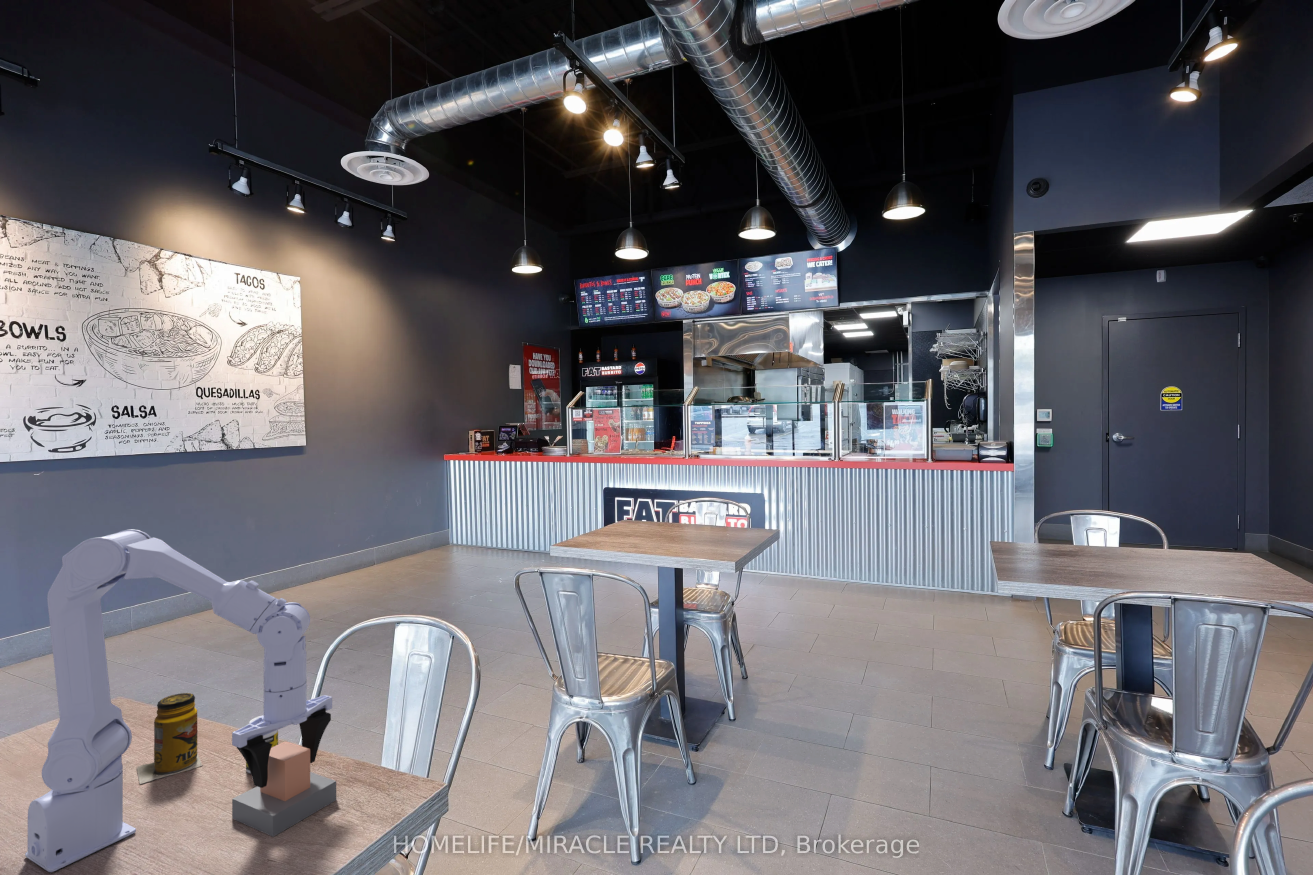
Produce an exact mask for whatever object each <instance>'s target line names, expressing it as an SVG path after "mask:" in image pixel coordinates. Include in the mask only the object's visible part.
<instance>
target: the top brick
mask: <svg viewBox="0 0 1313 875" xmlns="http://www.w3.org/2000/svg"><path fill="white" fill-rule="evenodd" d="M310 772H311V763H310V749H309V748H306V747H302V745H298V744H296V743H292V742H290V741H286V740H284V741H283V742H281V743H278V745H276V746H274V747H272V748H271V750H270V754H269V759H268V780H267V786H265V787H263V788H260V792H262V793H265V794H267V795H270V796H273V797H275V798H278V799H280V800H283V801H287V800H288V799H290V798H292V797H294V796H296V795H297V794H299V793H301V792H303V791H305V790H307V789H308V788H310Z"/></svg>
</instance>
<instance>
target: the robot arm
mask: <svg viewBox="0 0 1313 875" xmlns="http://www.w3.org/2000/svg"><path fill="white" fill-rule="evenodd" d="M61 559H62V560H61V561H62V566H61V568H60V570H59V572H58V573H57V575H56V577H55V578H54V580H53V582H52V584H51V586H50V587H49V589H48V592H47V596H46V597H47V599H46V600H47V609H48V610H47V611H48V619H49V628H50V629H49V630H50V637H51V646H52V655H53V656H52V658H53V666H54V668H53V669H54V674H55V675H54V676H55V677H54V678H55V687H56V695H57V705H58V713H59V720H58V722H57V724H56V727H55V728H54V730H53V732H52V734H51V736H50V738H49V740H48V742H47V750H48V751H47V752H48V753H47V756H46V760H45V761H44V762H43V765H42V768H41V778H42V781H43V783H44V784H45V786H46V787H47V788H48V789H50V790H49V791H48V792H47V793H45V794H43V795H41V796H40V797H37V798H35V799H33V800H32V801H31V802H30V803H29V806H28V809H27V852H25V858H27V859H29V860H30V861H32V862H33V863H34V864H36V865H38V866H39V867H40V868H42V869H43V870H45V871H47V873H54V872H56V871H58V870H60V869H61V868H64V867H66V866H69V865H71V864H72V863H75V862H77V861H79V860H81V859H83V858H85V857H87V856H90V855H91V854H94V853H95V852H99V851H100V850H102V849H104V848H106V847H108V846H110V845H113V844H114V843H116V842H118V841H120V840H122V839H125V838H127V837H129V836H131V835H133V834H136V832H137V828H136V827H134V826H132V825H130V824H128V823H127V822H124V820H123V817H124V816H123V815H124V810H123V809H124V808H123V807H124V804H123V802H124V801H123V800H124V796H123V795H124V794H123V792H124V791H123V790H124V789H123V788H124V787H123V785H124V781H123V780H124V776H123V775H124V771H123V769H124V768H123V766H124V765H123V754H125V753H126V752H127V751H128V749H129V748H130V746H131V743H132V739H133V734H132V730H131V728H130V726H129V725H128V724H127V723H126V722H125V719H124V718H123V714H122V713H123V712H122V709H121V708H120V707H119V706H118V705H115V704H114V703H112V700H111V689H110V681H109V672H108V661H107V650H106V642H105V630H104V622H103V621H104V620H103V613H102V612H103V611H102V603H101V602H102V601H101V600H102V597H103V596H104V595H105V594H106V593H107V592H109V591H110V590H111V589H112V588H113V587H115V585H116V584H117V583H119V582H120V580H122V579H124V580H132V579H133V580H134V579H135V580H136V579H148V578H158V579H161V580H163V581H165V582H167V583H169V584H171V585H174V586H176V587H178V588H181V589H183V590H185V591H186V592H189V593H191V594H194V595H196V596H197V597H200V598H202V599H205V600H206V601H209V602H210V603H211V607H212V611H213V614H215V615H216V616H218V617H220V618H222V619H224V620H226V621H228V622H230V623H231V624H234V625H235V626H237V627H239V628H241V629H243V630H245V631H247V632H249V633H251V634H253V635H256V637H257V638H256V639H257V640H258V643H259V644H260V646H261V647H262V648H263V649H264V650H263V653H264V654H263V714H262V715H263V716H262V715H260V716H261V717H260V718H258V719H256V720H254V721H253V722H251V723H249V722H248V724H247V725H244V726H243V727H241V728H239V729H237V730H233V731H232V733H231V745H232V746H233V747H236V749H237V750H238V752H239V753H240V754H241V756H242V757H243V758H244V760H245V763H246V762H247V764H248V767H249V769H250V772H251V773H250V774H251V777H252V782H253V786H255V787H257V786H258V787H260V788H263V787H265V786H267V780H268V759H269V754H270V750H271V747H272V744H271V743H268V742H265V739H263V736H264V735H267V734H269V733H271V732H274V731H276V730H278V731H279V730H280V729H283V728H286V727H288V726H291V725H293V726H295V725H299V728H300V735H301V746H302V747H306V748H309V749H310V764H313V763H315V762H316V758H317V754H318V750H319V746H320V743H321V740H322V739H323V735H324V733H325V731H326V728H327V727H328V725H329V724H330V722H331V720H332V714H331V713H330V712H328V711H330V710H331V709H333V696H330V695H326V694H323V695H320V696H318V697H314V698H311V699H308V700H307V697H308V696H307V692H308V690H307V657H308V656H307V650H306V646H307V643H306V635H304V634H305V633H306V632H307V631H308V629H309V626H310V624H311V616H310V613H309V611H308V609H306V607H304V606H302V604H300V603H299V602H295V601H293V602H288V601H287V599H285V598H283V597H280V598H277V597H275V596H273V595H271V594H269V593H267V592H265V591H263V590H262V589H260V588H258V586H259V585H260V584H259V583H258V582H257V581H255V580H250V581H246V580H243V579H240V580H239V579H238V580H233V581H227V580H225V579H223V578H222V577H221V576H218V575H217V574H215V573H213V572H212V571H210V570H208V569H207V568H205V567H204V566H202V565H201V564H198V563H197V562H195V561H194V560H192V559H191V558H189V557H187V556H186V555H183V553H180V552H179V551H177V550H176V549H174V548H173V547H172V546H170V545H169V544H167V543H166V542H164V540H163V539H160V538H157V537H154V536H153V537H151V535H149V534H148V533H147V532H145V531H143V530H142V531H141V530H140V529H134V528H133V529H131V528H130V529H125V530H120V531H118V532H115V533H112V534H107V535H105V536H98V537H97V536H96V537H91V538H88V539H85V540H84V541H81V542H80V543H79V544H77V545H76V546H74V547H73V548H72V549H71V550H70V551H68V552H67V553H65V554H64V555H63V556H62V557H61Z"/></svg>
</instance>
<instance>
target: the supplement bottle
mask: <svg viewBox="0 0 1313 875" xmlns="http://www.w3.org/2000/svg"><path fill="white" fill-rule="evenodd" d="M263 715H264V714H262V715H259V716H256V717H254V718H252V719H250V720H249V722H248V724H249V723H251V722H253V721H254V720H256V719H258V718H260V717H261V716H263ZM263 739H265V742H268V743H271V744H272V747H274V746H276V745H278V744H279V729H278V730H276V731H274V732H271V733H269V734H267V735H264V736H263ZM272 747H271V748H272ZM245 771H246V772H247V773H248V774H251V772H250V769H249V767H248V764H247V762H246V761H245Z"/></svg>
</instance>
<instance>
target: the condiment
mask: <svg viewBox="0 0 1313 875" xmlns="http://www.w3.org/2000/svg"><path fill="white" fill-rule="evenodd" d="M195 702H196V696H195V694H193V693H191V692H186V693H185V692H181V693H176V694H172V695H169V696H166V697H163V698H162V699H160V700H159V701H157V704H156V707H157V708H156V709H157V710H156V716H155V718H154V722H153V735H154V736H153V737H154V738H153V740H154V741H153V743H154V744H153V753H154V754H153V762H149V763H145V764H142V765H138V766H136V772H137V777H138V782H139V785H142V784H145V783H148V782H152V781H154V780H159V779H162V778H165V777H168V776H169V777H170V776H172V775H173V776H174V775H176V774H179V773H184V772H186V771H190V770H192V769H196V768H199V767H201V766H203V763H202V761H201V759H200V755H199V753H198V745H199V743H198V709H197V708H196V707H195V706H196V703H195Z"/></svg>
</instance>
